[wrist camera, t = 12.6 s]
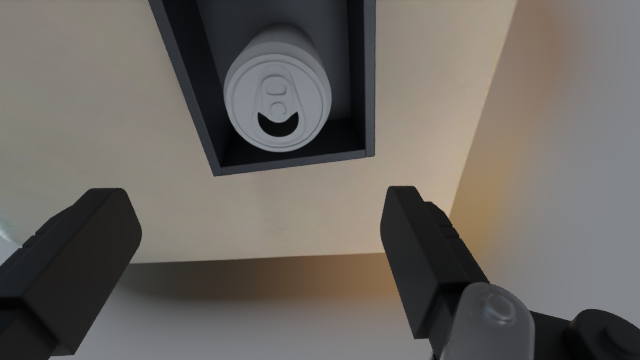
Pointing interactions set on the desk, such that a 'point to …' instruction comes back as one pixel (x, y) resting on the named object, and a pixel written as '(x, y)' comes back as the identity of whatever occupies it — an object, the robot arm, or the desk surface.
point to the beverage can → (278, 89)
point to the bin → (230, 40)
